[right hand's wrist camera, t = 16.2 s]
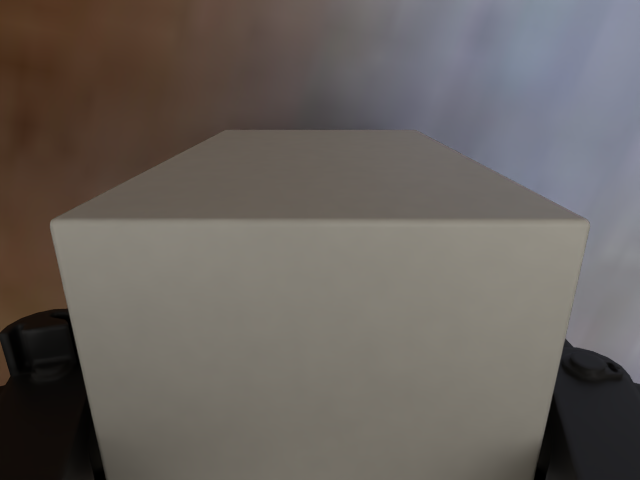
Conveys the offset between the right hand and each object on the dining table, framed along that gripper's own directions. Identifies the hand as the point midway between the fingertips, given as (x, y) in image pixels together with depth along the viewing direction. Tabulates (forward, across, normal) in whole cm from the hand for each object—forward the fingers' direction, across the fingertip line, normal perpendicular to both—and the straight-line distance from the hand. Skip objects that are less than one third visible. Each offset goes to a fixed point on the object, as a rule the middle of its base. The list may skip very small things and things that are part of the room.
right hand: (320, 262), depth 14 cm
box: (+1, 0, -10) cm, 10 cm away
